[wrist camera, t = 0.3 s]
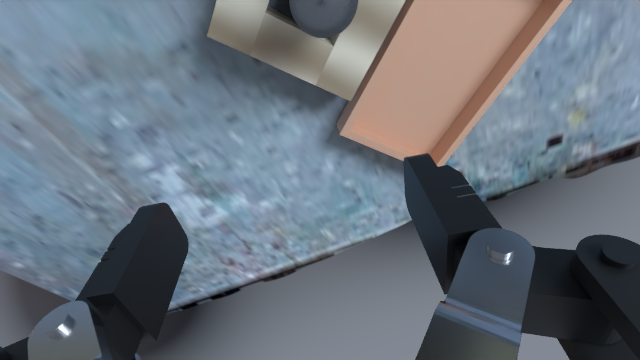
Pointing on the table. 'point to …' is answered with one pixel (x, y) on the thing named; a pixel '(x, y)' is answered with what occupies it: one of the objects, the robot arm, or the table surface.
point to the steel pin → (323, 16)
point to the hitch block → (306, 41)
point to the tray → (442, 72)
